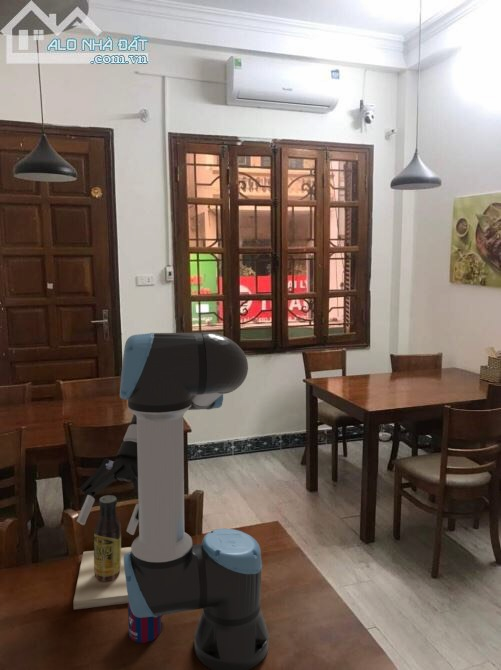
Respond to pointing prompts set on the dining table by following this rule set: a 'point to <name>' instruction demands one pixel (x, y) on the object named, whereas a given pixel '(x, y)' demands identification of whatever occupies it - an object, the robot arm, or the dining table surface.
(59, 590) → the dining table surface
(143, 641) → the mug
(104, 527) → the sauce bottle
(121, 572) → the birch board
